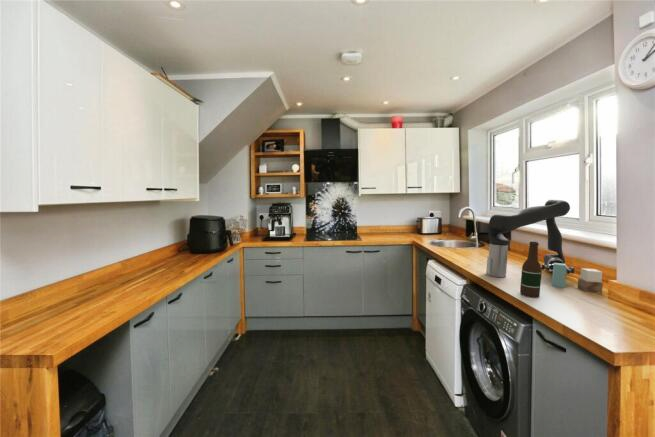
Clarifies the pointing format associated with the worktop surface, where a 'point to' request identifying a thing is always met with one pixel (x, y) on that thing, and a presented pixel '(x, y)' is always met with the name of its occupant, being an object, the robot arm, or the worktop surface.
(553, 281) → the teal block
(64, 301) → the worktop surface
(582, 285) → the walnut block
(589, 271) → the cream block
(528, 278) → the beer bottle
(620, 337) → the worktop surface
